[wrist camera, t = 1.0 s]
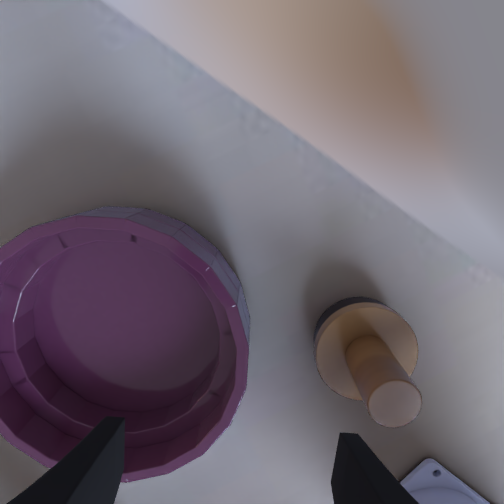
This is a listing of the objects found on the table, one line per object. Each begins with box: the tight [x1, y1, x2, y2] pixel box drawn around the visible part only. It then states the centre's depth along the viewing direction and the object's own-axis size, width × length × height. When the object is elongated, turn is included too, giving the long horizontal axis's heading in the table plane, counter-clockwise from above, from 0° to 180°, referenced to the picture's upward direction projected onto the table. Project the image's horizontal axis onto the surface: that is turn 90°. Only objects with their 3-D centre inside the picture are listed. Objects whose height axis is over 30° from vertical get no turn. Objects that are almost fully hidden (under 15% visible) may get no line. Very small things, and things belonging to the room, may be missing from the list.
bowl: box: [0, 206, 250, 483], centre depth 22 cm, size 14×14×4 cm
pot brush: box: [314, 297, 422, 428], centre depth 21 cm, size 6×6×7 cm
